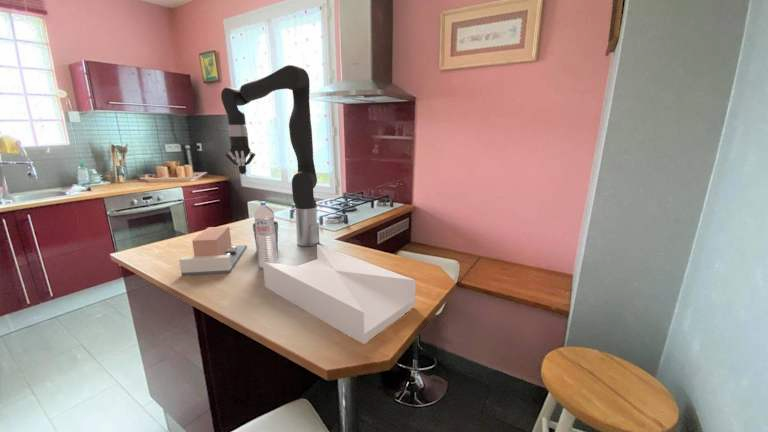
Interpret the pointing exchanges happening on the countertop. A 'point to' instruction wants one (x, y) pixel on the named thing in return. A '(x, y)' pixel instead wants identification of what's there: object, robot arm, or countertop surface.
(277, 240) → the grey pot
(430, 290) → the countertop surface
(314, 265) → the building model
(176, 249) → the countertop surface
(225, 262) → the grey piece
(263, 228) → the water bottle
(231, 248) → the rear roller
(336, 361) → the countertop surface
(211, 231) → the terracotta block
